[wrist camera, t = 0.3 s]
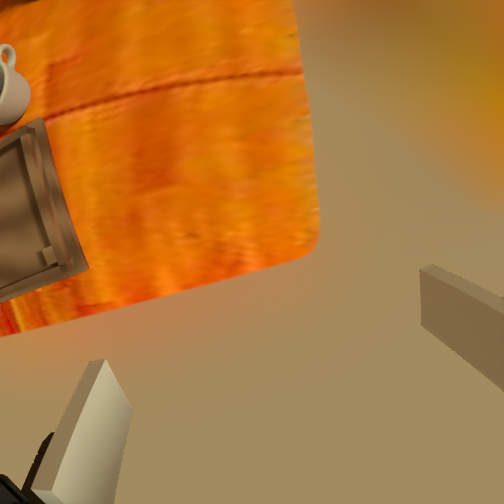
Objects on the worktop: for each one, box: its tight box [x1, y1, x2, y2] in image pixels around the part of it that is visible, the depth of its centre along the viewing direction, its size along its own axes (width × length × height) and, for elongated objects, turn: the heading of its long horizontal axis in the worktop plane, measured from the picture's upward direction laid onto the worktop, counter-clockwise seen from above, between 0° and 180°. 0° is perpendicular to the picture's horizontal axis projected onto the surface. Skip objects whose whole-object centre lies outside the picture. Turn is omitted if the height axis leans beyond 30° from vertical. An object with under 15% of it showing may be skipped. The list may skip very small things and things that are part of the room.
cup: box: [0, 44, 31, 125], centre depth 26 cm, size 11×8×8 cm
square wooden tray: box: [0, 117, 89, 303], centre depth 32 cm, size 20×18×4 cm
